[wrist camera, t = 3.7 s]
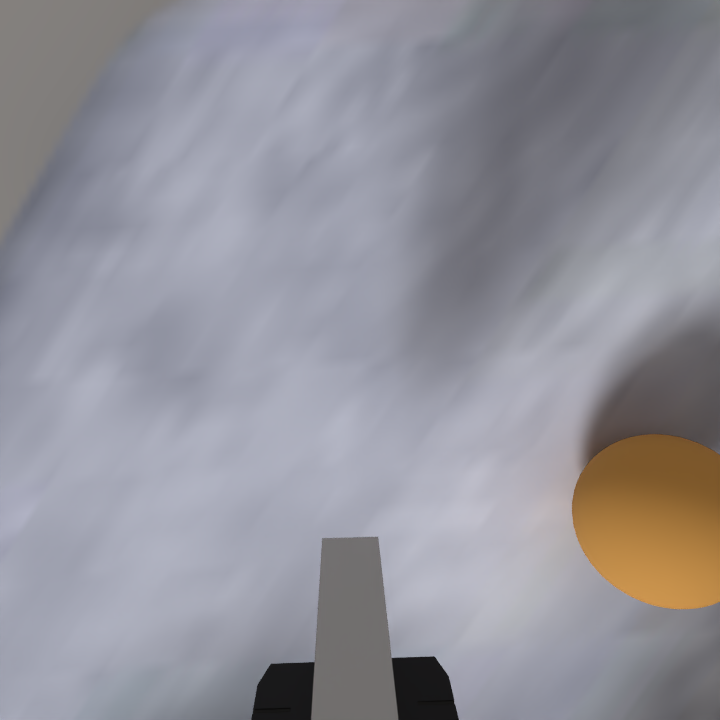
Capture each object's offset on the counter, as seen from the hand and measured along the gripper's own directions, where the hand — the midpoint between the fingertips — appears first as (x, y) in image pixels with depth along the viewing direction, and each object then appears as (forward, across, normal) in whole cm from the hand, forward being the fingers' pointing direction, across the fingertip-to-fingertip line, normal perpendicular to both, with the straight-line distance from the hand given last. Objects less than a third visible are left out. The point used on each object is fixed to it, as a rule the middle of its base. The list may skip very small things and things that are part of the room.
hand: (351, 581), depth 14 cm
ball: (+3, -10, 0) cm, 11 cm away
